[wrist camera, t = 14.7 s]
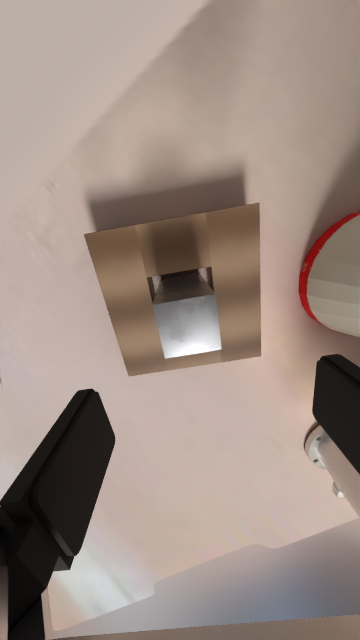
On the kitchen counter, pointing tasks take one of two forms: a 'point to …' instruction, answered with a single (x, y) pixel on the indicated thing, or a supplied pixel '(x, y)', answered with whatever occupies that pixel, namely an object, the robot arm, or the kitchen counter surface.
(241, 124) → the kitchen counter surface
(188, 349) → the square peg
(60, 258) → the kitchen counter surface
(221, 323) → the socket block
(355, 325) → the kitchen timer
